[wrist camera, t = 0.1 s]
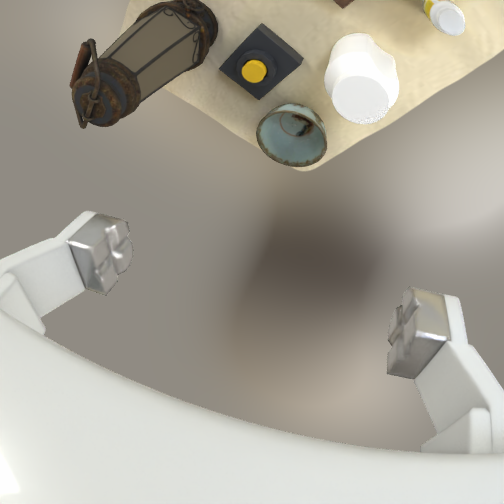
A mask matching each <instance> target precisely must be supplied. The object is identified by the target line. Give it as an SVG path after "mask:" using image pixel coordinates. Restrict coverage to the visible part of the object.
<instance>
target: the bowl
mask: <svg viewBox="0 0 504 504" xmlns="http://www.w3.org/2000/svg"><path fill="white" fill-rule="evenodd" d="M256 136H257V141H258V144H259V146H260V148H261V149H262V150H263V152H264V153H265V154H266V155H267V156H269V157H270V158H272V159H273V160H274V161H276V162H278V163H281V164H284V165H288V166H292V167H305V166H309V165H312V164H314V163H316V162H318V161H319V160H320V159H321V158H322V157H323V156H324V154H325V152H326V150H327V141H326V130H325V126H324V123H323V122H322V120H321V119H320V117H319V116H318V115H317V114H316V113H315V112H314V111H313V110H311V109H310V108H308V107H306V106H303V105H300V104H284V105H281V106H278V107H276V108H275V109H273V110H272V111H270V112H269V113H268V114H267V115H266V116H265V117H264V118H263V119H262V120H261V121H260V123H259V125H258V127H257V131H256Z"/></svg>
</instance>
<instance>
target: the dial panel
mask: <svg viewBox="0 0 504 504" xmlns="http://www.w3.org/2000/svg"><path fill="white" fill-rule="evenodd" d="M334 1H335V2H336V3H337V4H338V5H339V6H340V7H341V8H342V9H343V8H344V7H346V6H347V5H348V4H350V3H351V2H353V1H354V0H334Z"/></svg>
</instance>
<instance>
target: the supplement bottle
mask: <svg viewBox="0 0 504 504" xmlns="http://www.w3.org/2000/svg"><path fill="white" fill-rule="evenodd" d="M423 9H424V12H425V14H426V15H427V17H428V18H429V19H430V21H431V22H432V23H433V25H434V26H435V27H436V28H437V29H438V30H440V31H441V32H443V33H446V34H449V35H453V36H455V35H459V34H461V33H462V32H463V31H464V29H465V19H464V15H463V13H462V11H461V10H460V9H459V8H458V7H457V6H456V5H455V4H454V3H453V2H452V1H450V0H424V1H423Z"/></svg>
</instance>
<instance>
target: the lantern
mask: <svg viewBox="0 0 504 504" xmlns="http://www.w3.org/2000/svg"><path fill="white" fill-rule="evenodd" d="M217 33H218V23H217V20H216V18H215V15H214V14H213V12H212V11H211V9H210V8H208V7H207V6H206V5H205V4H204V3H202V2H201V1H199V0H173V1H171V2H161V3H158V4H155V5H153V6H151V7H149V8H148V9H147V10H145V11H144V12H143V13H141V14H140V16H139V17H138V18H137V20H136V22H135V23H134V24H133V25H132V26H131V27H130V28H129V29H128V30H127V31H125V32H124V33H123V34H122V35H121V36H120V37H119V38H118V39H117V40H116V41H115V42H114V43H113V44H112V45H111V46H110V47H109V48H108V49H107V50H106V51H105V52H104V53H103V54H102V55H101V56H100V57H99V58H97V53H96V45H95V44H96V42H95V40H94V39H89V40H88V41H87V42H83V43H82V44H81V48H80V51H79V54H78V57H77V61H76V64H75V68H74V71H73V74H72V79H71V82H70V87H71V88H72V100H73V103H74V106H75V110H76V114H77V118H78V121H79V125H80V127H81V128H83V129H84V128H86V126H87V123H88V122H90V123H92V124H93V125H97V126H100V127H108V126H112V125H114V124H115V123H117V122H118V121H119V119H121V118H124V117H126V116H127V115H129V114H131V113H132V112H134V111H135V110H136V108H137V107H138V106H139V104H140V103H141V102H142V101H144V100H145V99H146V98H148V97H149V96H150V95H152V94H153V93H155V92H156V91H157V90H159V89H160V88H162V87H163V86H164V85H166V84H167V83H169V82H170V81H172V80H173V79H174V78H176V77H177V76H179V75H180V74H182V73H183V72H186V71H189V70H192V69H194V68H196V67H197V66H199V65H200V64H202V63H203V61H204V59H205V57H206V55H207V53H208V51H209V47H210V46H211V45H212V44H213V43H214V41H215V39H216V37H217ZM91 54H92V60H93V61H92V62H91V63H90V64H89V65H88V63H89V60H90V58H91ZM82 117H83V119H84V121H83V119H82Z"/></svg>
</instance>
